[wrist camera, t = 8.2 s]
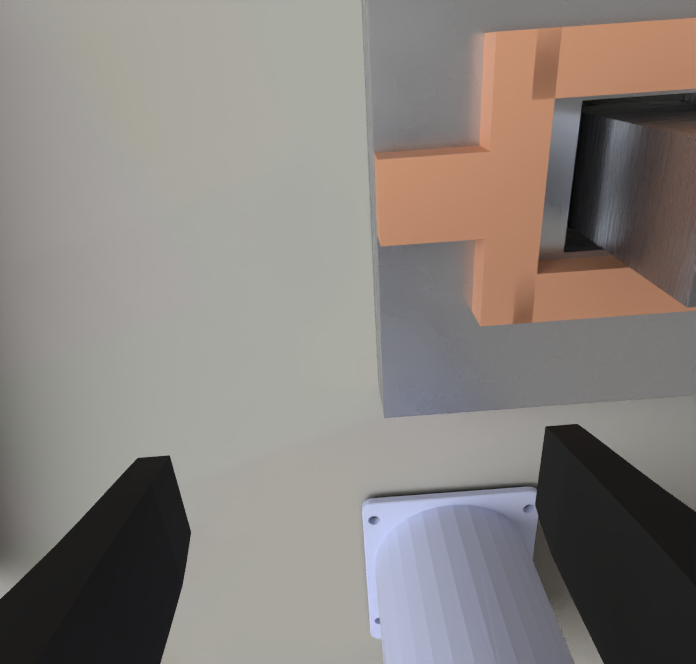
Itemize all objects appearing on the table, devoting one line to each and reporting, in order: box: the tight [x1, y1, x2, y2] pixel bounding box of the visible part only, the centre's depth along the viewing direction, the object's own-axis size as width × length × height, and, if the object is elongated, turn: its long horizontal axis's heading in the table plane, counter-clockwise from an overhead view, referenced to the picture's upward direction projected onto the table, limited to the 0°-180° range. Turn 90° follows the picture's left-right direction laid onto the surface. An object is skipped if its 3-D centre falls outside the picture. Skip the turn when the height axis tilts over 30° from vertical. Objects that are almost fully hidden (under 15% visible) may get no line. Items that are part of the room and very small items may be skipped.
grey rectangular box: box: [567, 100, 696, 307], centre depth 15 cm, size 3×3×8 cm
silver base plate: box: [362, 0, 696, 418], centre depth 17 cm, size 16×14×2 cm
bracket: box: [374, 18, 696, 326], centre depth 16 cm, size 8×12×1 cm, turn 94°
